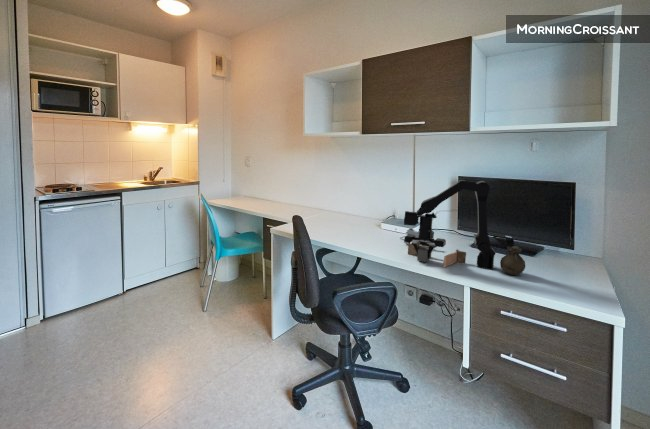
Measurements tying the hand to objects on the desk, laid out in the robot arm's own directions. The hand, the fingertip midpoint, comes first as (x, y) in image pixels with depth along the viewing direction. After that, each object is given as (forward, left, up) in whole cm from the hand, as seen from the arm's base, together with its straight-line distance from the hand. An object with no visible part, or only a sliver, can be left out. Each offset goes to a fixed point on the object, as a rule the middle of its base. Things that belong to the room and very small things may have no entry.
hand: (423, 257), depth 168 cm
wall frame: (-4, -7, -2) cm, 8 cm away
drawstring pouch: (-38, -3, -2) cm, 38 cm away
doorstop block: (0, 0, -1) cm, 1 cm away
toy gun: (+9, -23, -2) cm, 25 cm away
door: (-12, -1, -1) cm, 12 cm away
